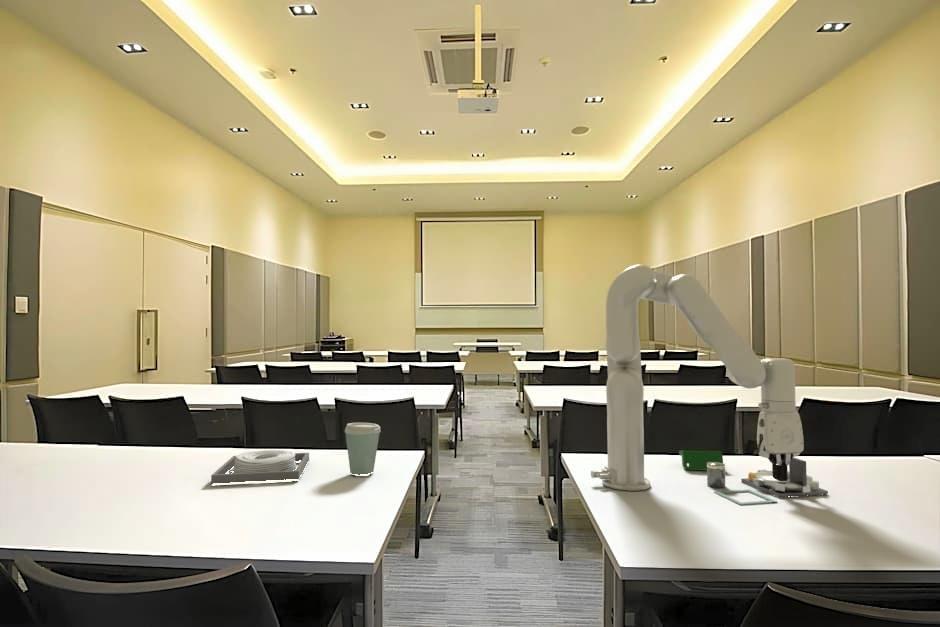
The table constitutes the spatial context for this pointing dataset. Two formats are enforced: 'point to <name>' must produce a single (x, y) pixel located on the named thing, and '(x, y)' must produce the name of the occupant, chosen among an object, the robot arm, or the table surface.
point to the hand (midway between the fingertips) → (780, 479)
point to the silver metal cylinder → (716, 475)
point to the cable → (264, 461)
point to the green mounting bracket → (699, 459)
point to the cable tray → (258, 476)
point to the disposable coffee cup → (362, 446)
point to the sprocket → (795, 478)
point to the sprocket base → (784, 493)
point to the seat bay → (744, 502)
